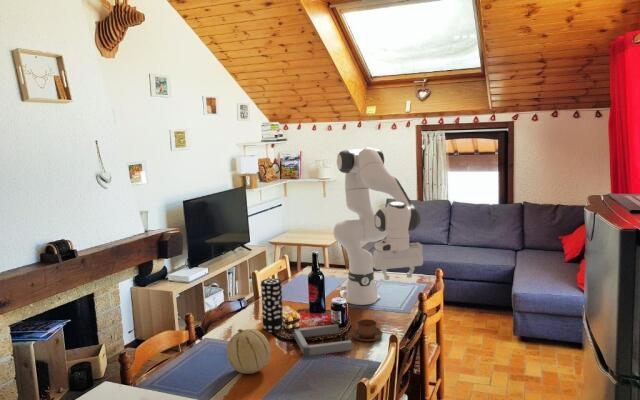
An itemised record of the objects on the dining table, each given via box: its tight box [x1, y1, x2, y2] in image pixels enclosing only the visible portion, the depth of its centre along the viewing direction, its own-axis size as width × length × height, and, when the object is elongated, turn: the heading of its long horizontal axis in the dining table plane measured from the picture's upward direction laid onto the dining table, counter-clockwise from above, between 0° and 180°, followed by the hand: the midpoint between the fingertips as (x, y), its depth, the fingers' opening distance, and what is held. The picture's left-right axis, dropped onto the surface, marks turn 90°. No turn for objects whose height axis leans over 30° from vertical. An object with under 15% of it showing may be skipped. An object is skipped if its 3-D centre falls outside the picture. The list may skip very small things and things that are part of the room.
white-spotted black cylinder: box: [260, 278, 284, 333], centre depth 216 cm, size 8×8×20 cm
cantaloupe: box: [226, 328, 272, 375], centre depth 179 cm, size 15×15×15 cm
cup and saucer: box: [351, 318, 383, 342], centre depth 206 cm, size 12×12×6 cm
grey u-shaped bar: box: [293, 323, 353, 357], centre depth 201 cm, size 19×18×3 cm
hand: (398, 278), depth 206 cm, fingers open, 8 cm apart
